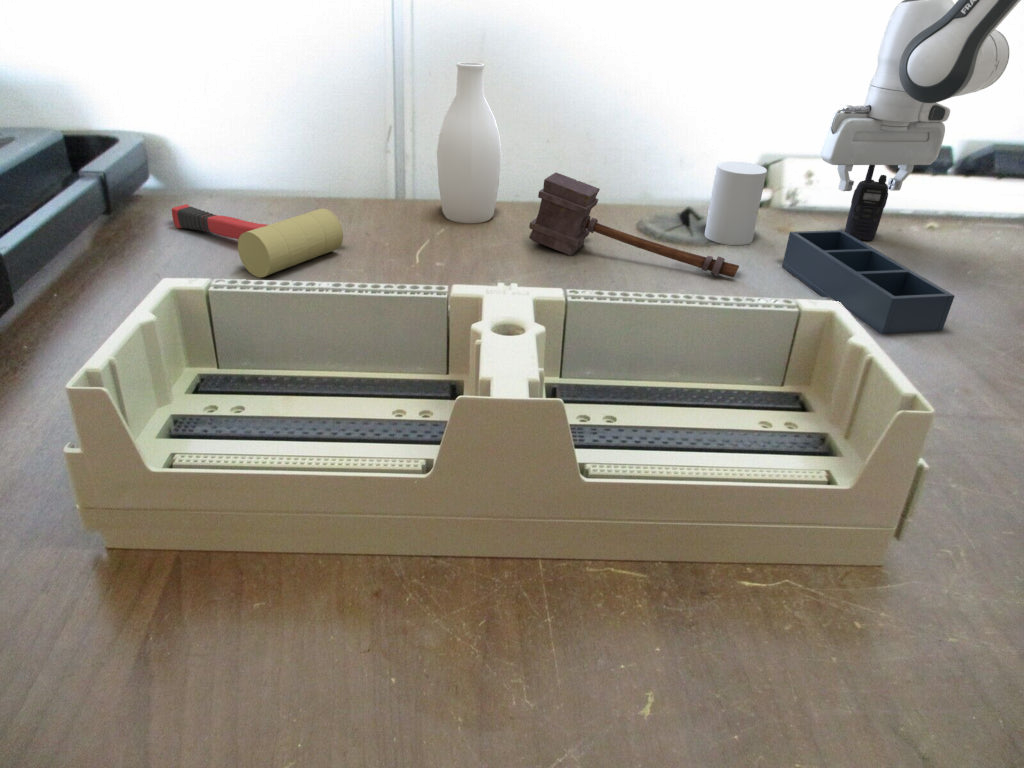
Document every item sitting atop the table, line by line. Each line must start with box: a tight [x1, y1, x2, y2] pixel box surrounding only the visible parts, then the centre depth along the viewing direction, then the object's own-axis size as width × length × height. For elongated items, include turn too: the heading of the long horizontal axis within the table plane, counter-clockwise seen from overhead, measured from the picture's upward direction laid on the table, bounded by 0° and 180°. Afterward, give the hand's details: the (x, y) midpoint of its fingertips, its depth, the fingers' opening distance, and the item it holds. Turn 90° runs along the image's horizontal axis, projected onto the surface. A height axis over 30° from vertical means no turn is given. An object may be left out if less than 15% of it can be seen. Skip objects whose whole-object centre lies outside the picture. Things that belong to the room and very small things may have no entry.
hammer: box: [528, 172, 740, 278], centre depth 119 cm, size 7×33×10 cm, turn 66°
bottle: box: [436, 61, 502, 224], centre depth 131 cm, size 11×11×25 cm
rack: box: [781, 229, 956, 335], centre depth 110 cm, size 9×26×6 cm, turn 12°
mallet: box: [171, 203, 344, 278], centre depth 118 cm, size 14×6×30 cm
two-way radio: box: [844, 165, 889, 242], centre depth 132 cm, size 6×4×15 cm
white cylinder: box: [704, 161, 768, 246], centre depth 130 cm, size 8×8×12 cm
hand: (868, 190), depth 132 cm, fingers open, 8 cm apart
